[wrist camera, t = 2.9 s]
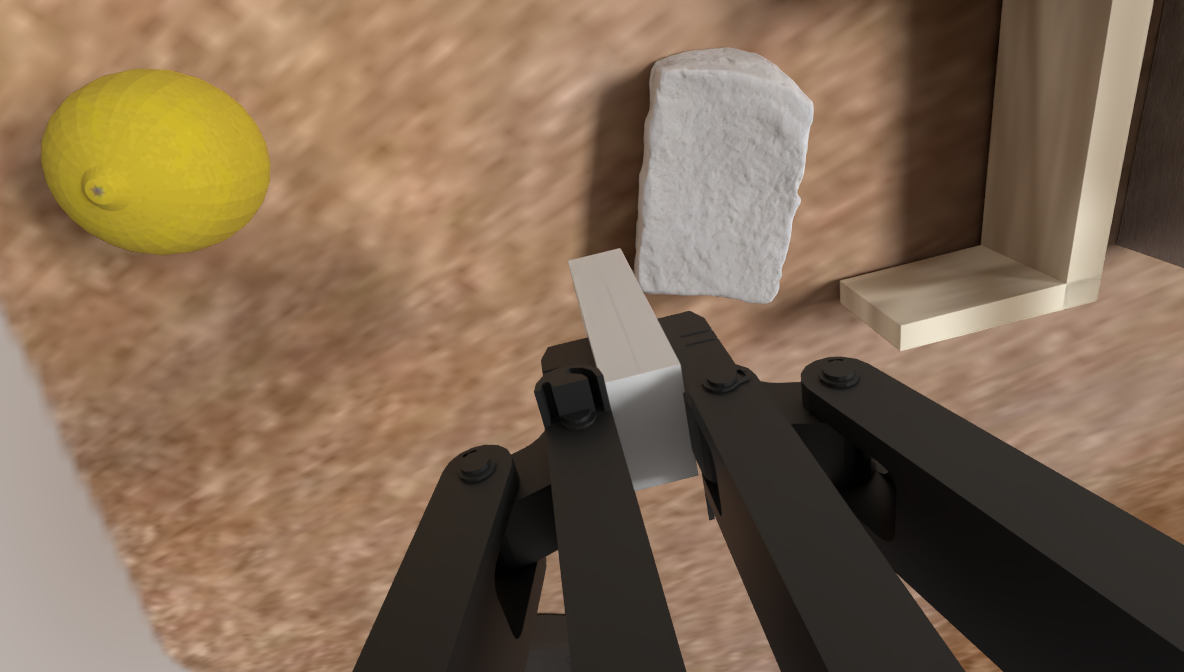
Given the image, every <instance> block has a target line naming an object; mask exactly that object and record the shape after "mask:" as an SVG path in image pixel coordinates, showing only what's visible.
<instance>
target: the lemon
mask: <svg viewBox="0 0 1184 672" xmlns="http://www.w3.org/2000/svg"><path fill="white" fill-rule="evenodd" d="M41 164H42V168H43V171H44V175H45V179H46V183H47V185H48V187H49V189H50V190H51V192H52V194H53V196H54V198H55V200H56V202H57V203H58V204H59V205H60V206H61V208H62V209H63V210H64V211H65V212H66V214H67V215H68V216H69V217H70V218H71V219H72V220H73V221H74V222H76V223H77V224H78V225H79V226H81V227H82V228H83V229H84V230H86V231H87V232H88V233H90V234H92V235H94V236H96V237H98V238H100V239H101V240H103V241H105V242H107V243H109V244H111V245H114V246H117V247H120V248H123V249H126V250H129V251H132V252H139V253H148V254H157V255H168V254H177V253H186V252H193V251H197V250H200V249H203V248H206V247H209V246H211V245H214V244H217V243H219V242H222V241H224V240H226V239H228V238H229V237H231V236H232V235H233V234H235V233H236V232H237V231H239V230H240V229H241V228H243V227H244V226H245V225H246V224H247V223H249V221H250V220H251V219H252V217H253V216H254V214H255V213H256V212H257V210H258V209H259V207H260V206H261V205H262V203H263V201H264V198H265V195H266V192H267V189H268V186H269V182H270V159H269V154H268V150H267V146H266V142H265V140H264V138H263V136H262V134H261V132H260V130H259V128H258V126H257V124H256V123H255V122H254V120H253V119H252V118H251V117H250V115H249V114H248V113H247V112H246V110H245V109H244V108H243V107H242V106H241V105H240V104H239V103H238V102H236V101H235V100H234V99H233V98H231V97H230V96H229V95H228V94H227V93H225V92H224V91H222V90H220V89H218V88H217V87H215V86H213V85H211V84H209V83H207V82H205V81H203V80H202V79H199V78H196V77H192V76H189V75H185V74H182V73H178V72H175V71H171V70H157V69H133V70H128V71H124V72H119V73H115V74H110V75H106V76H103V77H100V78H98V79H96V80H94V81H93V82H91V83H89V84H87V85H86V86H84V87H82V88H80V89H79V90H77V91H75V92H73V93H72V94H71V95H70V96H68V97H67V98H66V100H65V101H64V102H63V103H62V104H61V105H60V107H59V108H58V109H57V110H56V111H55V113H54V114H53V115H52V116H51V118H50V120H49V122H48V125H47V127H46V130H45V133H44V135H43V138H42V146H41Z"/></svg>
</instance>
